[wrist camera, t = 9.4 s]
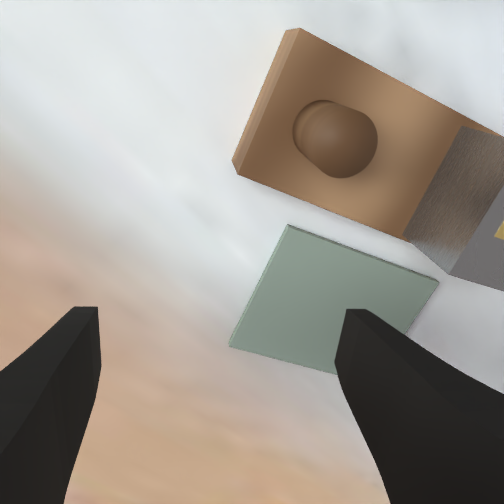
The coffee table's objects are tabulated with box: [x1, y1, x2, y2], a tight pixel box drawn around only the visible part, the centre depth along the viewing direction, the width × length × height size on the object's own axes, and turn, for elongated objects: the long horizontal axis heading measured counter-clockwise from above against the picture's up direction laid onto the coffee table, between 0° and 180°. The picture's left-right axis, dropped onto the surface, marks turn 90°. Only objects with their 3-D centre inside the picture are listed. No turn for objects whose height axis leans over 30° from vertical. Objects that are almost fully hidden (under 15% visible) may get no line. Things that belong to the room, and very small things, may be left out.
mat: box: [229, 224, 439, 375], centre depth 24 cm, size 10×8×1 cm
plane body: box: [232, 28, 503, 243], centre depth 19 cm, size 18×6×6 cm, turn 66°
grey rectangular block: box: [402, 126, 504, 291], centre depth 18 cm, size 3×5×4 cm, turn 159°
